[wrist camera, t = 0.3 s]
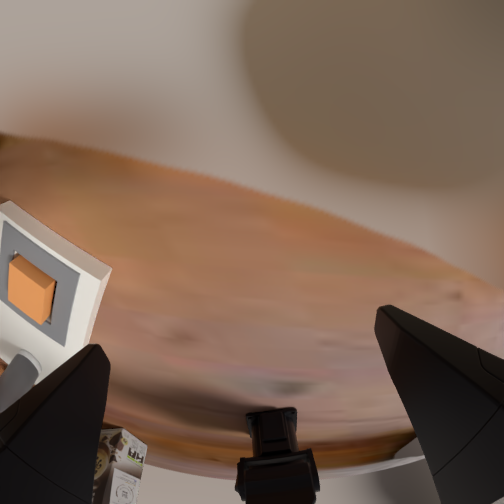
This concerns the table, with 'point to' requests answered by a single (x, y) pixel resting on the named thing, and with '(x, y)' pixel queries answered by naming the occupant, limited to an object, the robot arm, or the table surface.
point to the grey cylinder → (18, 378)
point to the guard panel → (66, 296)
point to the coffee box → (118, 467)
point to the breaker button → (30, 289)
